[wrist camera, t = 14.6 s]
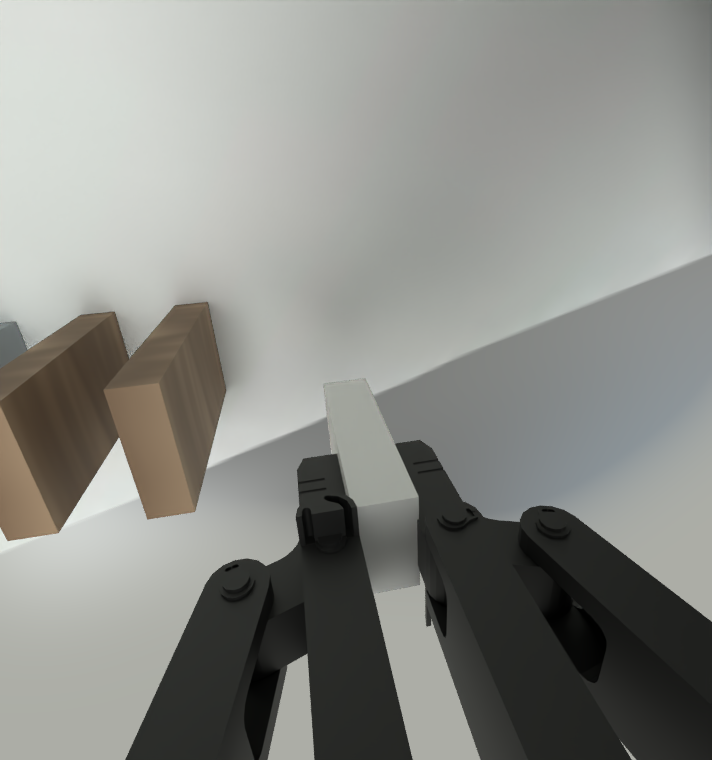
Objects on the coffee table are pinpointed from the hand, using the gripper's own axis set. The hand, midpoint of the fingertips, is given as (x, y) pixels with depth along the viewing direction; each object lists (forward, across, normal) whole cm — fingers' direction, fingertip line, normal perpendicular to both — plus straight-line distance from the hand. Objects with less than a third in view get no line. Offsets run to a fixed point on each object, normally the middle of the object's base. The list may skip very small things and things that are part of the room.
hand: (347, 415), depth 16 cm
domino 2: (+9, +6, 0) cm, 11 cm away
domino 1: (+9, +11, 0) cm, 14 cm away
